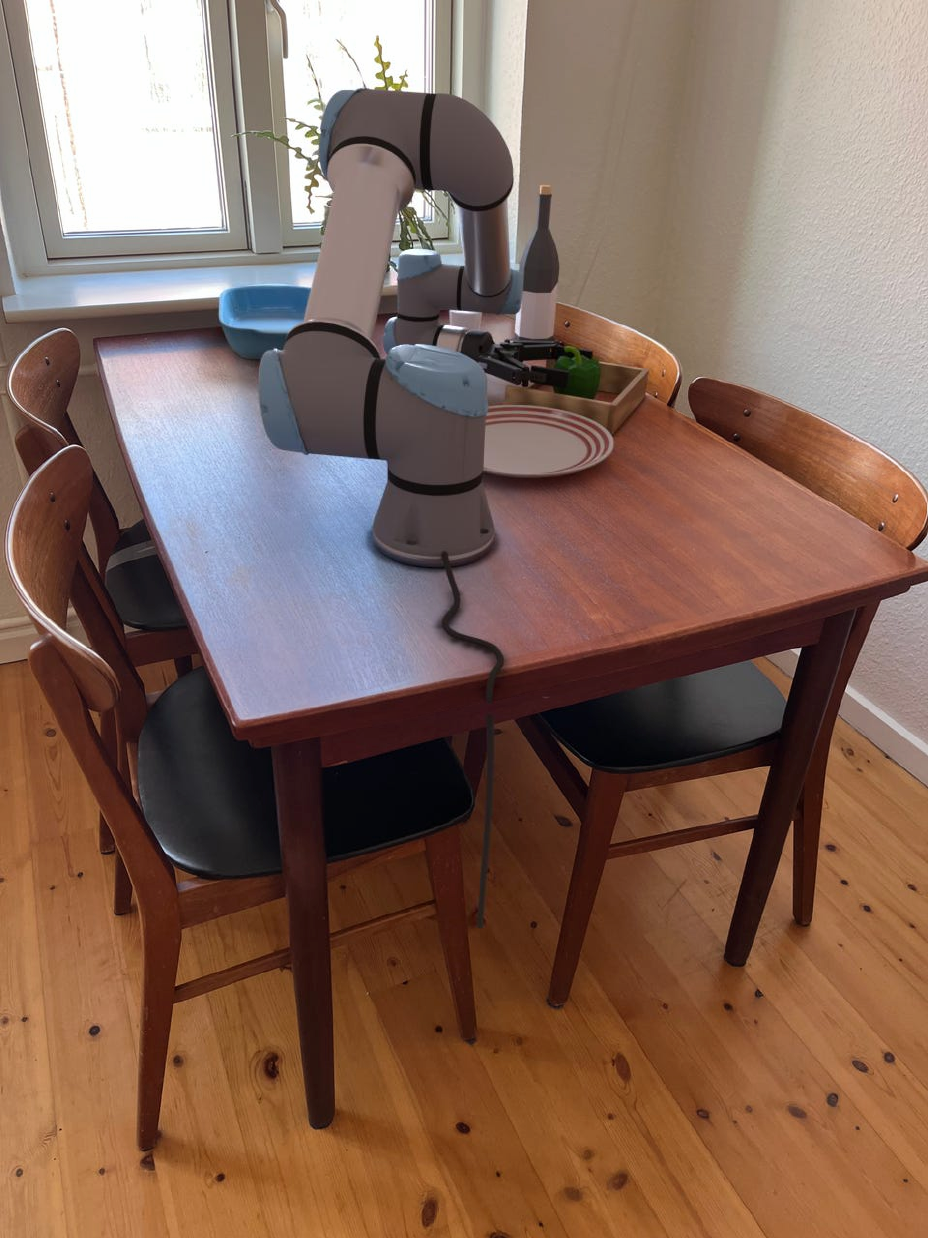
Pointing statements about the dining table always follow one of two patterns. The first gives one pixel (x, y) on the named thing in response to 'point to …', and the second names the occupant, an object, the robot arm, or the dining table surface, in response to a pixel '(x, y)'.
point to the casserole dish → (261, 316)
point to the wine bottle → (539, 278)
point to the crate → (606, 414)
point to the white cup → (465, 319)
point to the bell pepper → (579, 375)
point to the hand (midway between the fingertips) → (580, 369)
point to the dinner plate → (541, 442)
